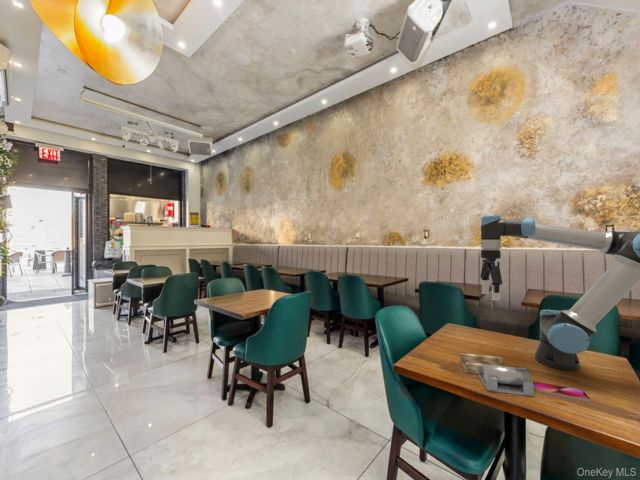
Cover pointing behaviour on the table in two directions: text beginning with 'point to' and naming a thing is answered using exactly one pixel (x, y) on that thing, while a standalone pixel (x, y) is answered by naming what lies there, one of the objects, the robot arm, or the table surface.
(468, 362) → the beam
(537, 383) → the smartphone
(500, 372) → the axle
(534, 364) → the table surface
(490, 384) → the cradle
